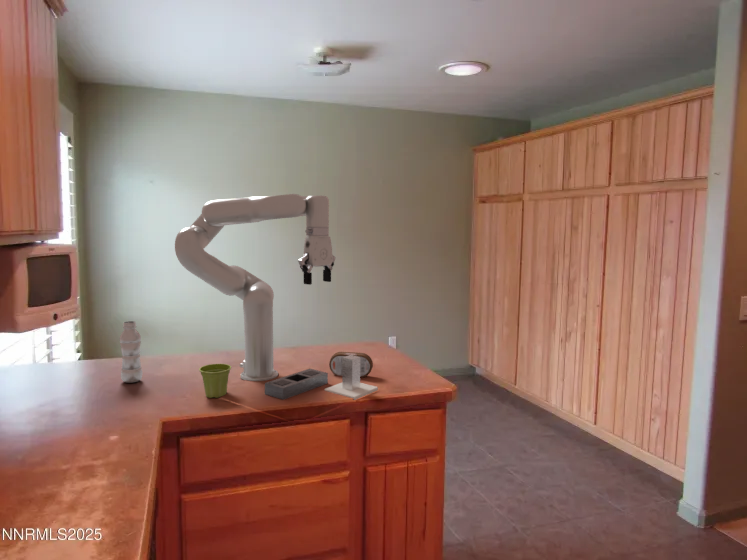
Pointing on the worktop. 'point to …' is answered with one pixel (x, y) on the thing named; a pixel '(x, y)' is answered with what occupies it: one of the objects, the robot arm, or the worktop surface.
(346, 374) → the steel block
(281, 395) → the grey compartment holder
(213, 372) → the plant pot
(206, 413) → the worktop surface
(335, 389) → the pad
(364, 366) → the tin
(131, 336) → the plastic bottle
